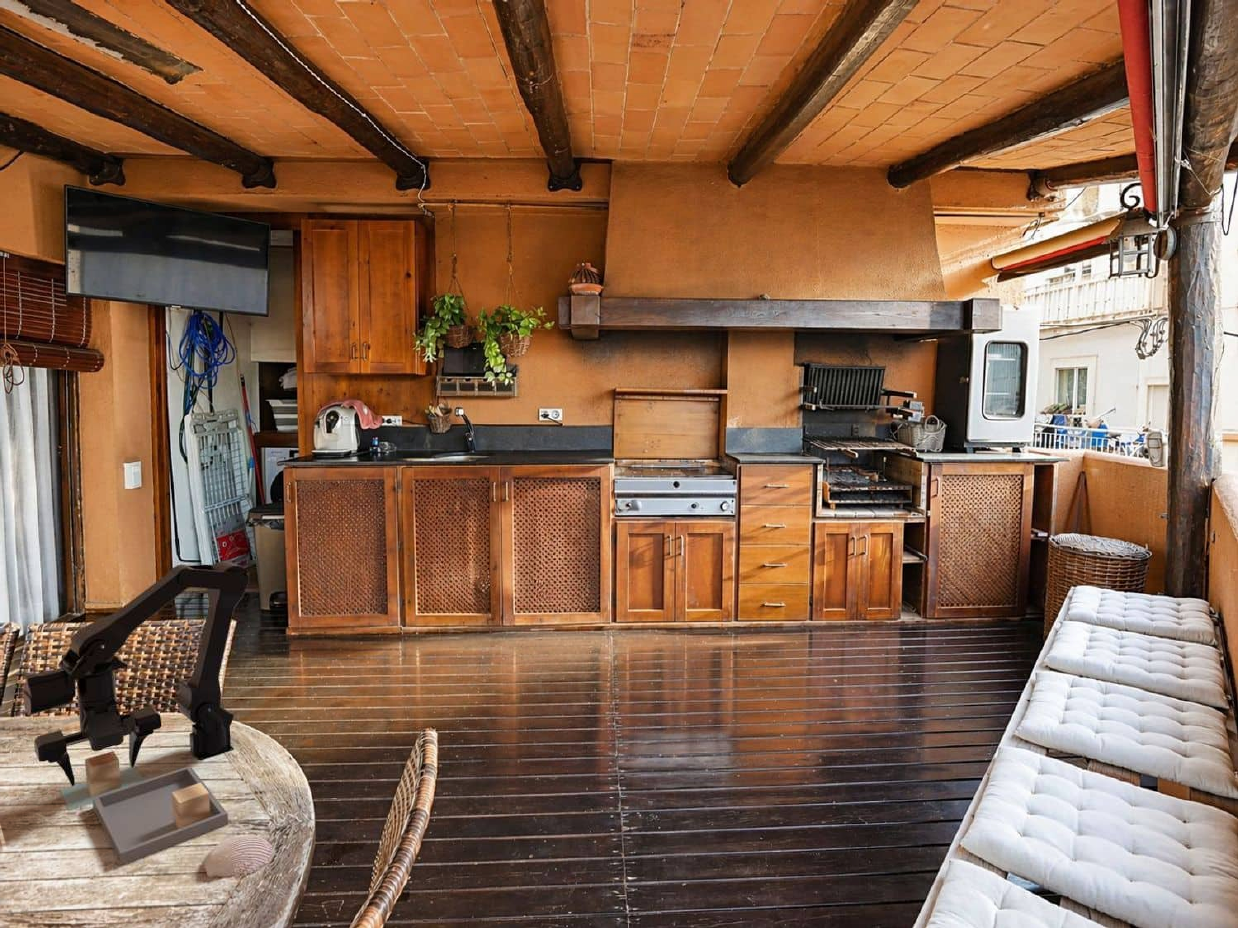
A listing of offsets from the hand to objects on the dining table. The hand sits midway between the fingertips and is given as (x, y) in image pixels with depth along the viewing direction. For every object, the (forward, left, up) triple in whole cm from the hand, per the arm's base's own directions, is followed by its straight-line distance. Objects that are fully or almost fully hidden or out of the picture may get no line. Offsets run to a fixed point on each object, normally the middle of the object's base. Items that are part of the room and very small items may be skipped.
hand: (103, 775), depth 138 cm
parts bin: (-5, +18, -3) cm, 18 cm away
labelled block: (0, 0, -2) cm, 2 cm away
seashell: (-11, +39, -3) cm, 40 cm away
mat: (0, 0, -3) cm, 3 cm away
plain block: (-8, +24, -2) cm, 25 cm away
